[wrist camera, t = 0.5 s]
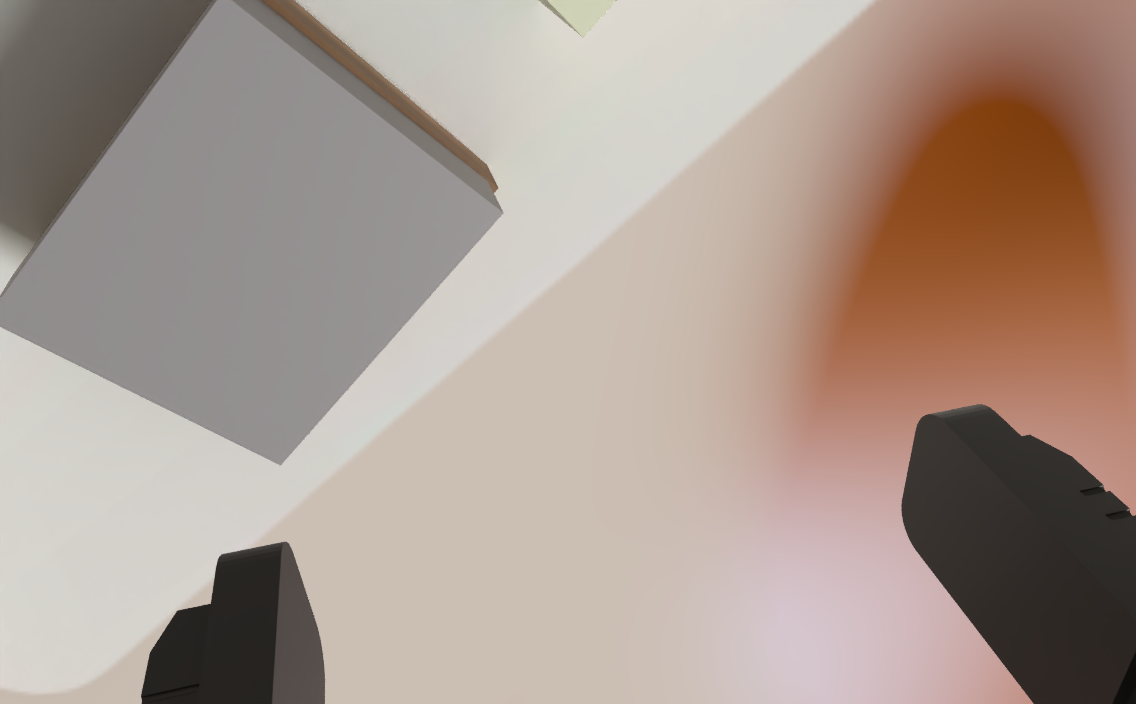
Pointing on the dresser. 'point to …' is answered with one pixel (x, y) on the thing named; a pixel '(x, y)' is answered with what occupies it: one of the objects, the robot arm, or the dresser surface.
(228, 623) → the robot arm
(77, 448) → the dresser surface
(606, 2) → the block
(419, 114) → the tower bottom
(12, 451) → the dresser surface
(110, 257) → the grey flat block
